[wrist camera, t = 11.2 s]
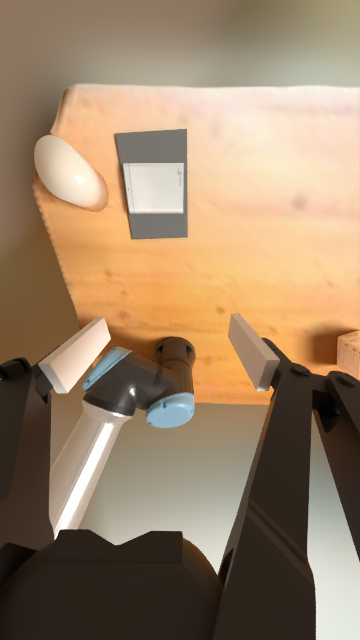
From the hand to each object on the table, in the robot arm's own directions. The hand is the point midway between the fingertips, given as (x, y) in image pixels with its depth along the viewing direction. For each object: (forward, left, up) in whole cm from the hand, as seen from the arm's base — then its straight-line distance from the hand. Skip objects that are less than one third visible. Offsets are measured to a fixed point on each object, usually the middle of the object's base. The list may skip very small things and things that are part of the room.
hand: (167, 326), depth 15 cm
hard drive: (+19, +4, -28) cm, 34 cm away
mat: (+19, +4, -29) cm, 35 cm away
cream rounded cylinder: (+20, +19, -29) cm, 40 cm away
